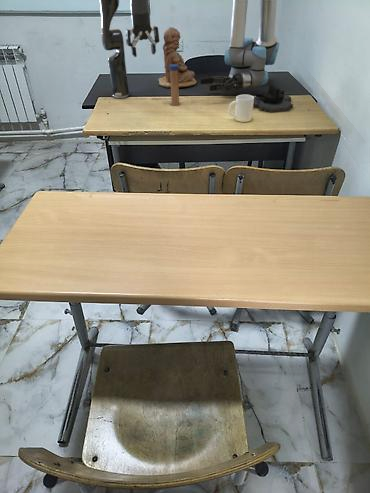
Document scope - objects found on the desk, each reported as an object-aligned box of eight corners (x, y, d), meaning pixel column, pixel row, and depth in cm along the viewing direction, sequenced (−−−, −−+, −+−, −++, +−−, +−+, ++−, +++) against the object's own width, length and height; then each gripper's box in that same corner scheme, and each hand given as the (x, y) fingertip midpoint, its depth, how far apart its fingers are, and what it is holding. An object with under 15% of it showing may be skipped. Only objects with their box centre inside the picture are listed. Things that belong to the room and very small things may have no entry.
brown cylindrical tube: (171, 103, 195) (169, 65, 183) (178, 102, 195) (177, 65, 183) (172, 105, 192) (170, 67, 180) (179, 105, 192) (178, 67, 180)
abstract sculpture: (255, 94, 173) (243, 83, 188) (253, 113, 179) (242, 100, 194) (304, 90, 176) (288, 79, 191) (301, 109, 182) (286, 97, 197)
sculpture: (197, 88, 213) (196, 30, 194) (156, 89, 214) (152, 31, 194) (196, 75, 234) (196, 22, 215) (159, 76, 235) (156, 23, 215)
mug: (229, 123, 170) (230, 101, 163) (225, 117, 176) (226, 95, 170) (254, 121, 171) (256, 99, 164) (249, 115, 177) (251, 93, 171)
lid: (168, 68, 184) (168, 64, 183) (178, 67, 184) (178, 63, 183) (169, 70, 180) (169, 66, 179) (179, 69, 181) (179, 66, 179)
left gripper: (152, 8, 151) (156, 51, 161) (120, 12, 146) (126, 55, 157) (159, 10, 146) (162, 55, 156) (126, 14, 141) (131, 59, 152)
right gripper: (250, 94, 190) (213, 98, 185) (231, 82, 208) (196, 86, 203) (251, 78, 185) (213, 83, 180) (231, 68, 203) (196, 71, 198)
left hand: (144, 55), depth 157 cm, fingers open, 8 cm apart
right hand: (204, 84), depth 192 cm, fingers open, 13 cm apart
